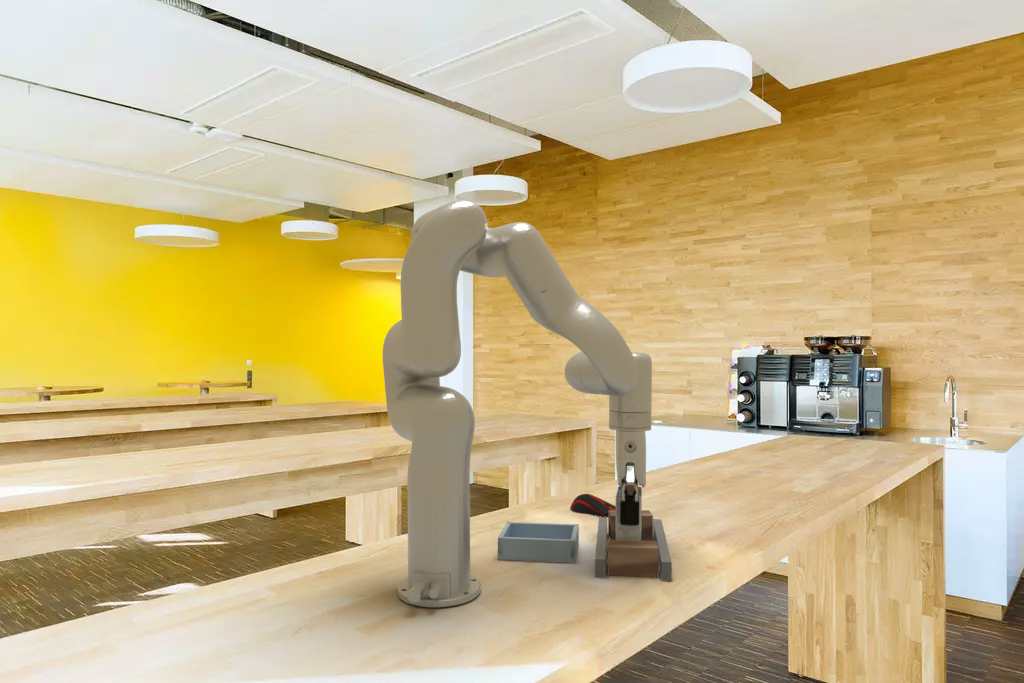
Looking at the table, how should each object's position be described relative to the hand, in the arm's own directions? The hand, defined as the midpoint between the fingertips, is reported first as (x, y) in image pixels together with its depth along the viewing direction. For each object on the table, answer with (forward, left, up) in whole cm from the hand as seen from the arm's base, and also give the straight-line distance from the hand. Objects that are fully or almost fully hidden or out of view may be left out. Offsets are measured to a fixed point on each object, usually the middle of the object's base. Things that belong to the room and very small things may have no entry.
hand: (629, 517), depth 123 cm
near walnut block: (-10, 0, -7) cm, 12 cm away
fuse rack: (0, 0, -7) cm, 7 cm away
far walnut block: (+10, 0, -7) cm, 12 cm away
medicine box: (0, 0, -4) cm, 4 cm away
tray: (-1, +16, -7) cm, 17 cm away
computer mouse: (+30, +7, -7) cm, 31 cm away
